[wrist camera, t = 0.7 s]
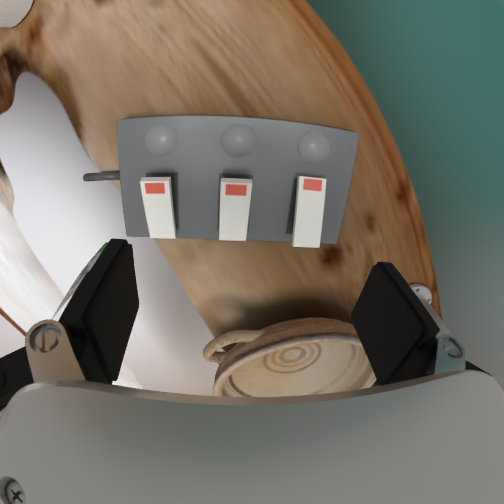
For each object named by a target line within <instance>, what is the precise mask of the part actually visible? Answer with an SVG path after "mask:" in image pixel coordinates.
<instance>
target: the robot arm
mask: <svg viewBox="0 0 504 504" xmlns="http://www.w3.org/2000/svg"><path fill="white" fill-rule="evenodd" d="M431 299H432V296H431V292H430V290H429V289H428V288H427V287H426V286H425V285H423V284H411V285H408V283H407V282H406V281H405V279H404V278H403V277H402V275H401V274H400V273H399V272H398V270H397V269H396V268H395V267H394V265H393V264H392V263H389V262H378V263H377V264H376V265H374V266H373V268H372V270H371V272H370V274H369V277H368V279H367V281H366V283H365V286H364V288H363V290H362V292H361V294H360V296H359V299H358V301H357V303H356V305H355V307H354V309H353V311H352V313H351V321H352V324H353V326H354V328H355V330H356V332H357V335H358V337H359V339H360V341H361V344H362V346H363V348H364V351H365V353H366V355H367V358H368V360H369V362H370V365H371V367H372V370H373V372H374V374H375V377H376V379H377V381H378V383H380V384H381V386H377V387H371V388H364V389H358V390H350V391H343V392H334V393H325V394H314V395H301V396H282V397H221V396H202V395H201V396H200V395H188V394H179V393H169V392H160V391H151V390H144V389H137V388H130V387H124V386H118V385H112V381H117V379H118V376H119V372H120V368H121V365H122V361H123V357H124V354H125V350H126V347H127V344H128V340H129V337H130V334H131V330H132V327H133V324H134V321H135V318H136V315H137V312H138V308H139V298H138V291H137V284H136V276H135V268H134V259H133V249H132V245H131V244H128V242H127V240H124V239H111V240H110V241H109V243H108V244H107V245H106V247H105V248H104V250H103V251H102V253H101V254H100V256H99V257H98V259H97V260H96V262H95V263H94V265H93V266H92V268H91V269H90V271H89V272H87V273H86V274H85V276H84V277H83V279H82V281H81V282H80V284H79V286H78V287H77V289H76V290H75V292H74V294H73V296H72V297H71V299H70V301H69V302H68V304H67V306H66V308H65V309H64V311H63V313H62V315H61V317H60V318H59V320H58V321H55V320H43V321H40V322H38V323H36V324H34V325H33V326H32V327H31V328H30V329H29V331H28V332H27V335H26V338H25V347H23V348H21V349H18V350H16V351H14V352H12V353H10V354H8V355H6V356H4V357H2V358H0V504H504V393H503V391H502V389H501V388H500V387H499V385H498V383H497V382H496V380H495V379H494V378H493V377H492V376H491V375H490V374H489V373H486V372H485V371H483V370H482V369H480V368H478V367H477V366H475V365H473V364H472V363H470V362H468V361H467V359H466V358H465V350H464V347H463V345H462V344H461V343H460V342H459V341H458V340H457V339H456V338H455V337H453V336H451V334H450V332H449V331H448V329H447V328H446V326H445V325H444V323H443V322H442V321H441V319H440V318H439V316H438V315H437V313H436V312H435V311H434V309H433V308H432V306H431V305H430V304H431Z"/></svg>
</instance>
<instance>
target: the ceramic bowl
mask: <svg viewBox="0 0 504 504" xmlns="http://www.w3.org/2000/svg"><path fill="white" fill-rule="evenodd" d="M237 342H238V343H237ZM232 343H237V344H236V345H235V346H234V347H233V348H232V349H230V351H226V352H217V351H216V350H218V349H220V348H222V347H224V346H226V345H229V344H232ZM203 356H204V358H205V359H206V360H208V361H211V362H217V363H218V364H219V367H218V370H217V372H216V375H215V384H214V386H213V396H221V397H282V396H301V395H314V394H325V393H334V392H343V391H350V390H358V389H364V388H370V387H371V386H372V385H373V383H374V382H375V381H376V377H375V374H374V372H373V370H372V367H371V365H370V362H369V360H368V358H367V355H366V353H365V351H364V348H363V346H362V344H361V341H360V339H359V337H358V335H357V332H356V330H355V328H354V326H353V325H352V324H350V323H347V322H344V321H341V320H337V319H331V318H324V317H307V318H298V319H291V320H287V321H282V322H278V323H276V324H273V325H270V326H267V327H264V328H262V329H260V330H235V331H229V332H226V333H224V334H222V335H220V336H218V337H216V338H215V339H213V340H212V341H210V342H209V343H208V344H207V345H206V347H205V348H204V350H203Z"/></svg>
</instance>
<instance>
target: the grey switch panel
mask: <svg viewBox="0 0 504 504" xmlns="http://www.w3.org/2000/svg"><path fill="white" fill-rule="evenodd" d="M358 139H359V133H356V132H353V131H350V130H346V129H340V128H335V127H330V126H324V125H318V124H311V123H305V122H297V121H290V120H281V119H272V118H261V117H248V116H230V115H162V116H145V117H132V118H125V119H120V120H118V152H119V170H120V171H119V172H102V173H89V174H85V175H84V176H83V180H84V181H101V180H120V183H121V194H122V204H123V212H124V220H125V228H126V234H127V236H133V237H150V234H149V229H148V224H147V219H146V214H145V208H144V203H143V197H142V192H141V186H140V180H141V178H142V177H171V188H172V198H173V208H174V217H175V226H176V238H202V239H219V224H220V189H221V178H237V179H252V191H251V200H250V209H249V218H248V226H247V235H246V240H258V241H283V242H292V237H293V226H294V215H295V204H296V192H297V179H298V176H304V177H314V178H323V179H326V190H325V201H324V211H323V221H322V230H321V238H320V243H328V244H337V240H338V236H339V232H340V228H341V223H342V219H343V215H344V211H345V206H346V202H347V197H348V192H349V188H350V183H351V178H352V173H353V168H354V162H355V157H356V151H357V145H358Z"/></svg>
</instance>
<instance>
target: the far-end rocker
mask: <svg viewBox="0 0 504 504" xmlns="http://www.w3.org/2000/svg"><path fill="white" fill-rule="evenodd" d="M325 190H326V179H323V178H314V177H304V176H298V179H297V192H296V204H295V215H294V226H293V237H292V246H293V247H314V248H319V247H320V238H321V230H322V221H323V211H324V201H325Z"/></svg>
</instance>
